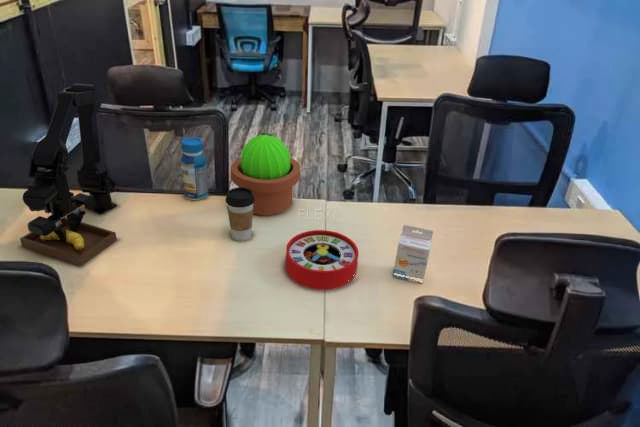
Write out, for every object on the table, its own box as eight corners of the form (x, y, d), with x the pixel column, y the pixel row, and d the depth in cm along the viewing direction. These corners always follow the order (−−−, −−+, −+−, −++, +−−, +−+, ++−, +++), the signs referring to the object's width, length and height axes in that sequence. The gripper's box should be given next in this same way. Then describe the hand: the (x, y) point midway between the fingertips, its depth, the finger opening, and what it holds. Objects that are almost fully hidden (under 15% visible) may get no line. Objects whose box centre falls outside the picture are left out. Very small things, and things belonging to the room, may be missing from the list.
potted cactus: (275, 227, 159) (276, 154, 146) (219, 207, 167) (215, 136, 154) (309, 198, 176) (313, 130, 163) (257, 181, 184) (256, 116, 171)
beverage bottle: (210, 200, 171) (206, 145, 161) (184, 202, 169) (178, 146, 159) (208, 188, 178) (204, 134, 168) (183, 189, 176) (178, 136, 166)
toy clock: (312, 222, 152) (371, 245, 143) (311, 238, 155) (369, 262, 146) (271, 254, 137) (334, 282, 128) (271, 271, 140) (332, 300, 131)
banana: (94, 245, 145) (92, 235, 143) (80, 255, 141) (77, 245, 139) (53, 231, 150) (51, 222, 148) (38, 241, 145) (35, 231, 143)
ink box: (392, 277, 140) (399, 233, 133) (395, 267, 145) (402, 223, 137) (422, 284, 138) (431, 240, 131) (425, 274, 143) (434, 230, 135)
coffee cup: (222, 238, 152) (219, 195, 144) (236, 225, 159) (234, 182, 151) (246, 246, 150) (245, 202, 142) (260, 231, 156) (259, 189, 149)
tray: (117, 240, 149) (115, 232, 147) (80, 266, 137) (78, 258, 136) (61, 222, 155) (59, 214, 153) (22, 246, 144) (19, 238, 142)
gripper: (61, 170, 147) (72, 216, 155) (5, 199, 132) (20, 248, 140) (91, 179, 144) (101, 225, 152) (37, 209, 129) (51, 259, 137)
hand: (69, 238), depth 145 cm, fingers closed on banana, 3 cm apart
